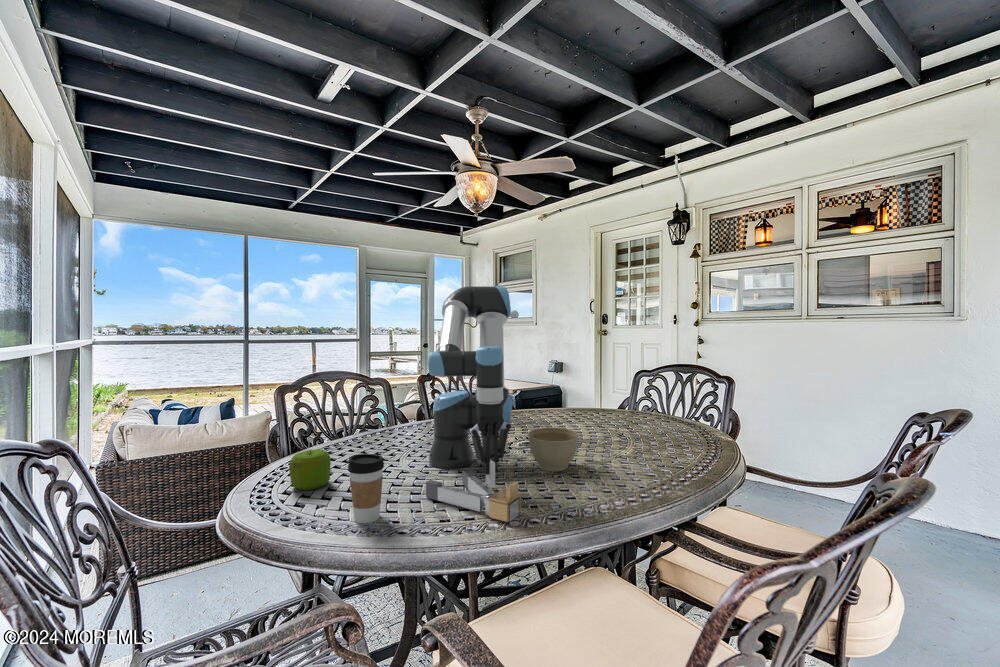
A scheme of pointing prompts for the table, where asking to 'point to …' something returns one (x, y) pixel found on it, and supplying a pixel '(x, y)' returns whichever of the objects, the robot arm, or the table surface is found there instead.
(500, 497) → the collar
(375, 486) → the coffee cup
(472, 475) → the bar
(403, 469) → the table surface
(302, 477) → the apple
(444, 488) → the tongs fixed
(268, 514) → the table surface
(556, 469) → the planter bowl
